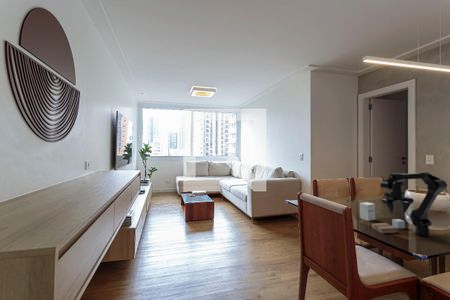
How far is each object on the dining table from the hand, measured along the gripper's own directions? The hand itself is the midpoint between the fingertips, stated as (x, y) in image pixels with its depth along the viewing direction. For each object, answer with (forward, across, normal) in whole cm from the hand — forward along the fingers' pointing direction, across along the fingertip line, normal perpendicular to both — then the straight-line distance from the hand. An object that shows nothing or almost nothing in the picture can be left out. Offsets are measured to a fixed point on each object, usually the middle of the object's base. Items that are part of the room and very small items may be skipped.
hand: (398, 212), depth 159 cm
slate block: (+11, 0, 0) cm, 11 cm away
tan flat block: (+10, +13, +4) cm, 17 cm away
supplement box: (+11, +10, -19) cm, 24 cm away
